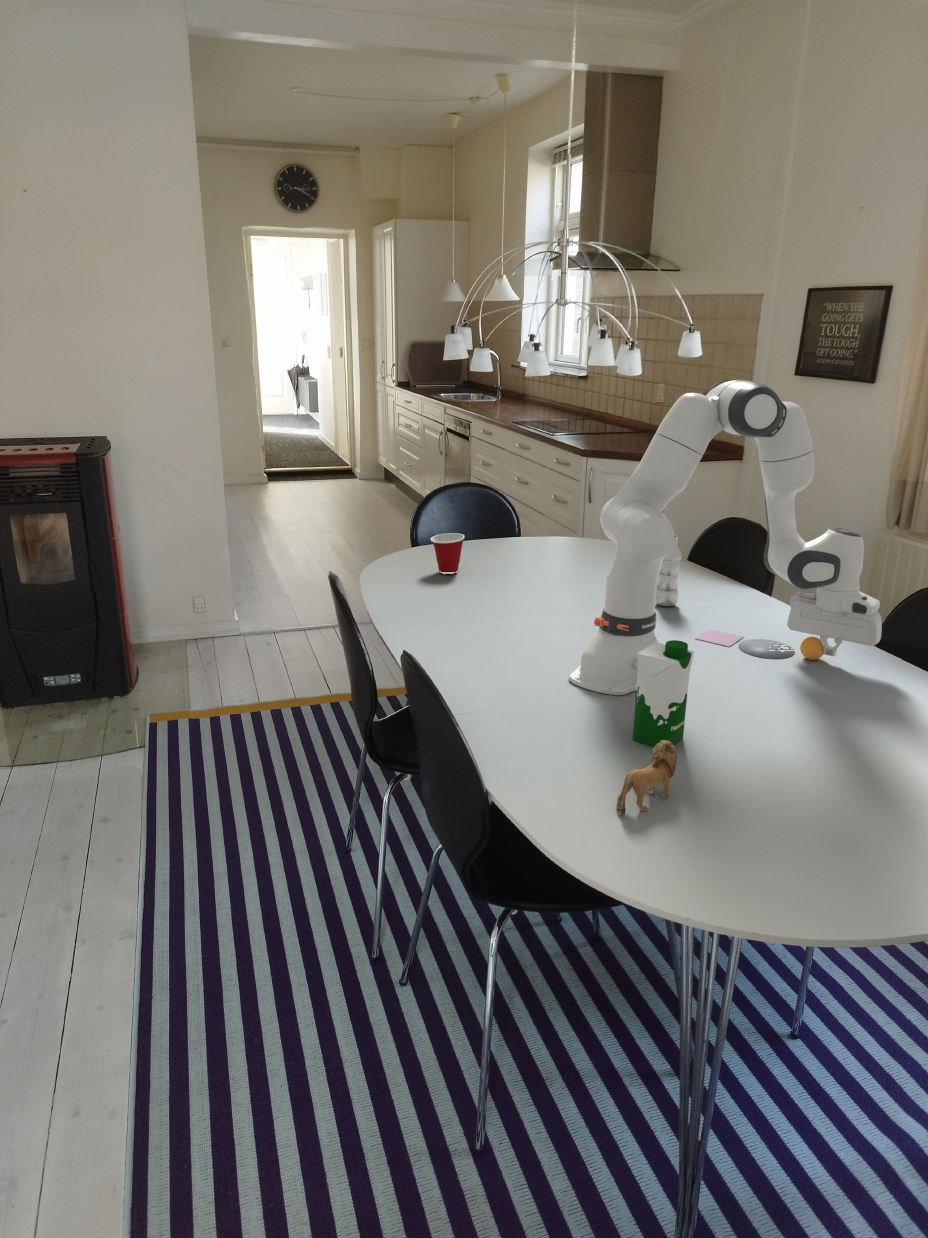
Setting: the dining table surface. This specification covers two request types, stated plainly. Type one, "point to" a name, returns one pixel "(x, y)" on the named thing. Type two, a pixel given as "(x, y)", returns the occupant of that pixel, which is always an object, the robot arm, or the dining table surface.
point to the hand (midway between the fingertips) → (829, 654)
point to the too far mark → (719, 637)
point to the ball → (812, 648)
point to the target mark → (764, 648)
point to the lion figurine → (650, 775)
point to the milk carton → (662, 692)
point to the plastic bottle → (669, 577)
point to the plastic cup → (448, 551)
